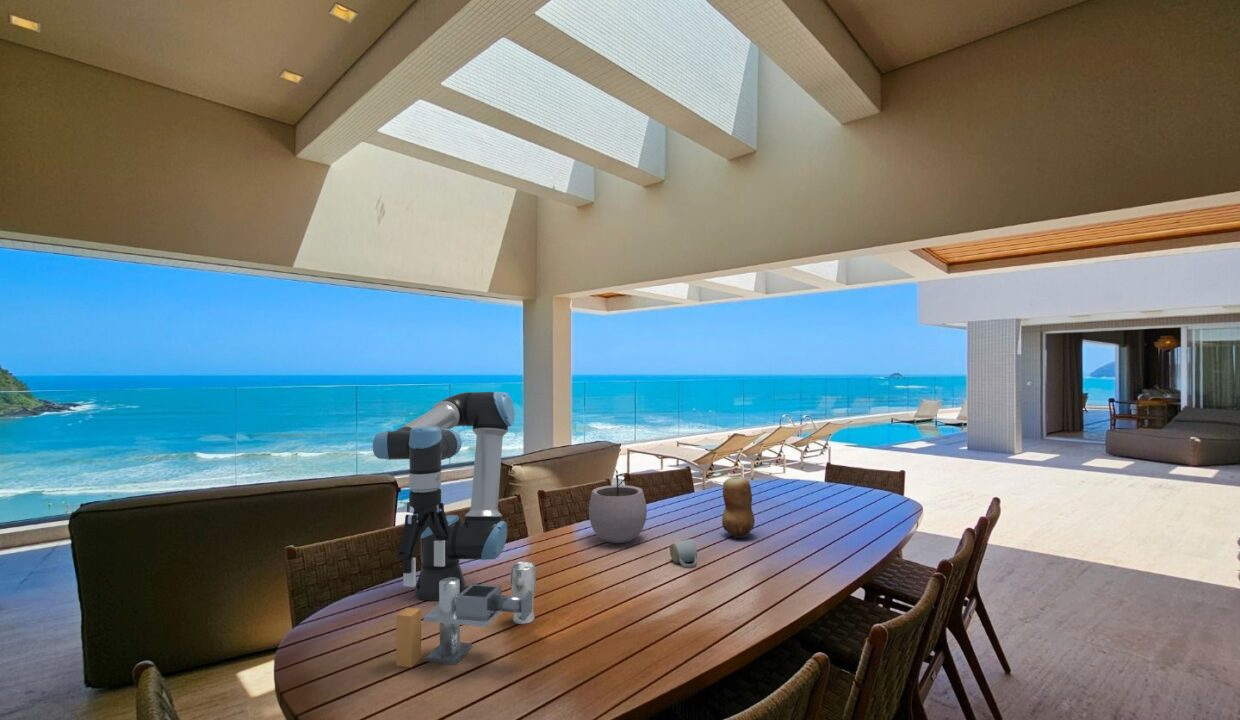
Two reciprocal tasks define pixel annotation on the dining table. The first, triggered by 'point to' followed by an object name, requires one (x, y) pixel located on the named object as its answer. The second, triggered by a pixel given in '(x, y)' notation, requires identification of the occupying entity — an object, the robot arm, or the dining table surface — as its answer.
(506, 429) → the robot arm
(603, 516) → the plant pot
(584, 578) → the dining table surface
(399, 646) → the tan wooden block
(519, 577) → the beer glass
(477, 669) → the dining table surface
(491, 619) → the metal pedestal stand
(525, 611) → the bracket
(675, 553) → the ceramic mug
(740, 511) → the butternut squash
